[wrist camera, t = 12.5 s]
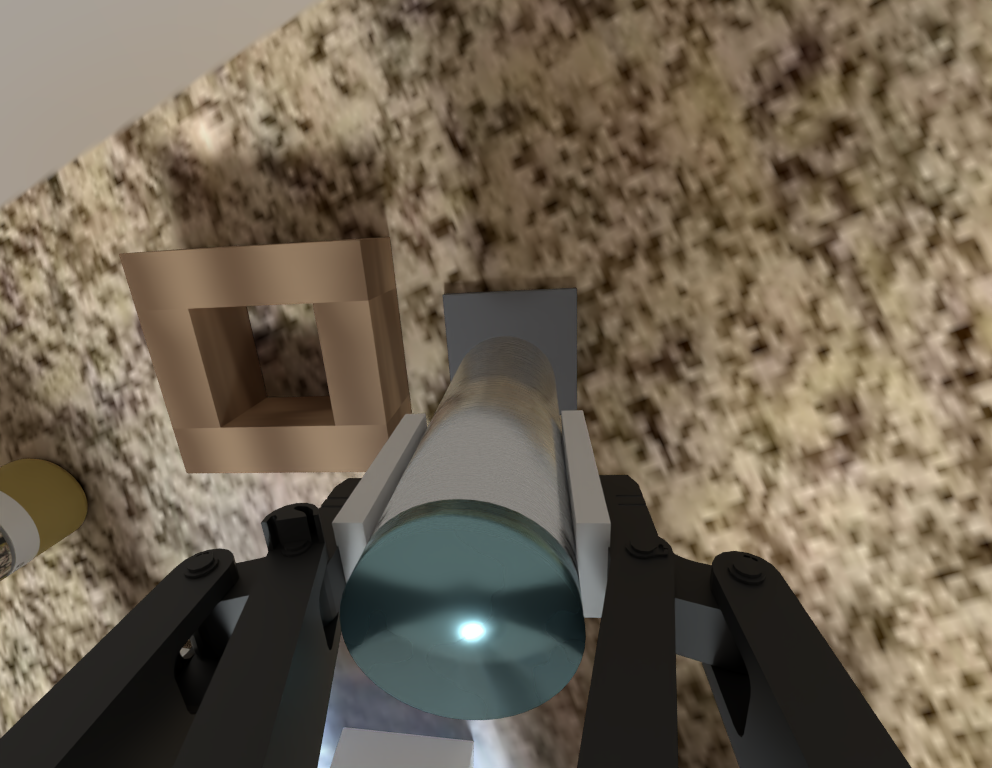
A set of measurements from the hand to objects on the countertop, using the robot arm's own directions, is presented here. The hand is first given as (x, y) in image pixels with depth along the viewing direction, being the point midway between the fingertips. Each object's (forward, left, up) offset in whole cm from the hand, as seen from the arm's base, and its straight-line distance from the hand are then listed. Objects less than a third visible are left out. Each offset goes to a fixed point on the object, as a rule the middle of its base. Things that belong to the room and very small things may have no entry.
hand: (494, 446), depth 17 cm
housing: (+13, -1, -13) cm, 19 cm away
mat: (0, 0, -13) cm, 13 cm away
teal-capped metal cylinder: (0, 0, -7) cm, 7 cm away
